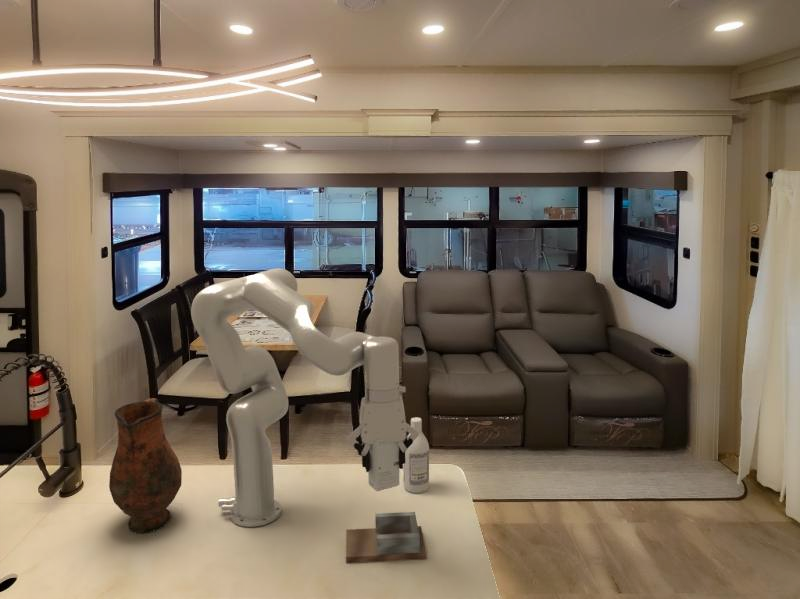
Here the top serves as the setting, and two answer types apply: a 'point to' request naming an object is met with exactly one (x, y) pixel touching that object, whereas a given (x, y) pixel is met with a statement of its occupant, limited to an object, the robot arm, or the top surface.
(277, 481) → the top surface
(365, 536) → the u rest
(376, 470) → the skincare box
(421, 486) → the bath foam
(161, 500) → the pitcher
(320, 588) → the top surface
